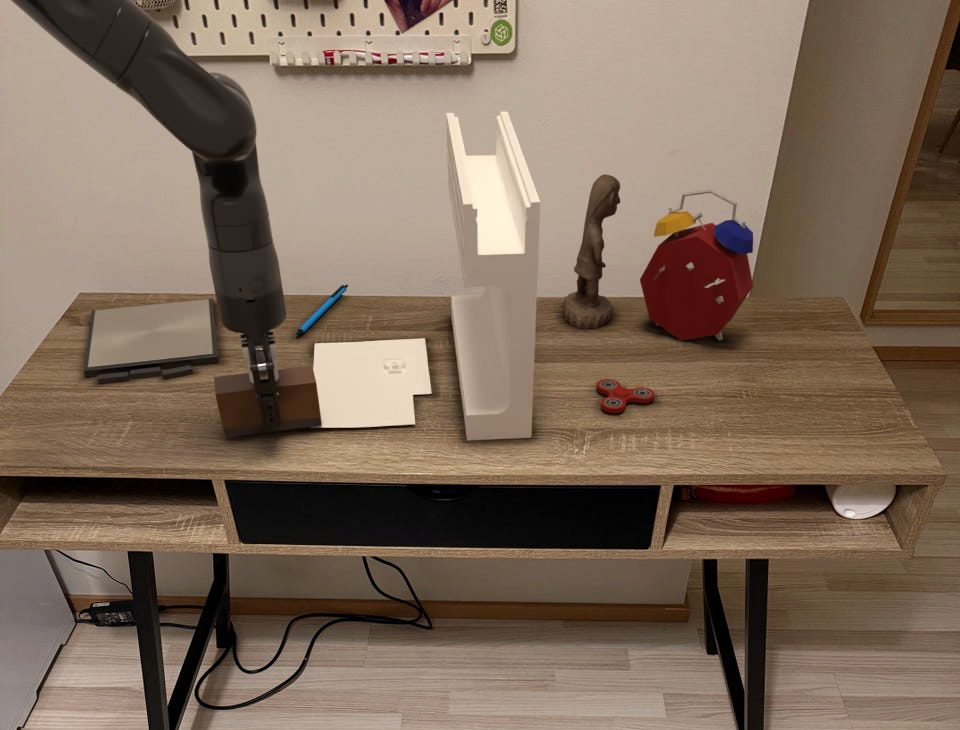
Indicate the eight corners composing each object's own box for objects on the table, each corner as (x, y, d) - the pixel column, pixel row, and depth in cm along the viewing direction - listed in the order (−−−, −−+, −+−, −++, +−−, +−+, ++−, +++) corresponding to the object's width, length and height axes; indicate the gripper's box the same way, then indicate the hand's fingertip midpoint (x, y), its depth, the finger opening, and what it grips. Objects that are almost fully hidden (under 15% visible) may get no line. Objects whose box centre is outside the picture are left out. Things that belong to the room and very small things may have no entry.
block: (531, 437, 116) (540, 202, 97) (466, 440, 116) (463, 204, 97) (504, 316, 142) (507, 111, 123) (451, 318, 141) (446, 113, 122)
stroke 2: (130, 369, 128) (131, 375, 129) (129, 373, 127) (131, 379, 128) (160, 366, 129) (161, 371, 129) (160, 370, 128) (161, 375, 129)
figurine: (622, 323, 140) (637, 181, 127) (578, 332, 138) (588, 189, 124) (593, 300, 146) (605, 162, 133) (550, 308, 144) (557, 169, 130)
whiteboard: (85, 377, 128) (82, 369, 127) (93, 316, 142) (91, 309, 142) (218, 362, 131) (217, 354, 130) (213, 304, 145) (212, 297, 145)
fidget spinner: (610, 417, 120) (611, 408, 119) (576, 393, 124) (577, 385, 124) (658, 401, 123) (660, 392, 122) (624, 378, 128) (625, 369, 127)
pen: (349, 288, 150) (349, 281, 149) (299, 339, 136) (297, 332, 136) (344, 287, 150) (343, 281, 149) (293, 339, 137) (292, 331, 136)
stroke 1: (98, 374, 127) (99, 380, 128) (97, 378, 126) (99, 384, 127) (128, 371, 128) (129, 376, 128) (127, 375, 127) (129, 381, 128)
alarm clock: (743, 335, 137) (772, 191, 123) (723, 359, 132) (751, 211, 118) (650, 313, 143) (667, 173, 129) (627, 335, 137) (642, 191, 123)
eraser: (224, 438, 115) (215, 393, 111) (223, 420, 118) (213, 376, 114) (322, 425, 117) (316, 381, 113) (318, 408, 120) (312, 365, 116)
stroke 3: (161, 370, 128) (162, 376, 129) (162, 374, 127) (164, 379, 128) (190, 364, 129) (191, 370, 130) (192, 368, 128) (193, 373, 129)
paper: (306, 345, 135) (305, 337, 134) (424, 336, 137) (424, 329, 136) (310, 434, 117) (309, 426, 116) (445, 423, 119) (445, 415, 118)
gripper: (211, 260, 110) (237, 393, 121) (215, 310, 100) (244, 450, 111) (275, 254, 111) (295, 386, 123) (286, 303, 101) (307, 441, 113)
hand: (271, 415), depth 117 cm, fingers closed on eraser, 4 cm apart
